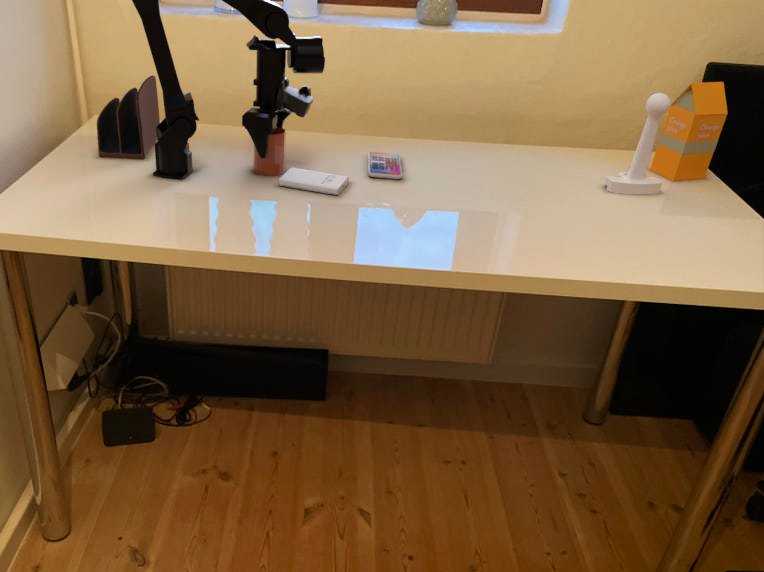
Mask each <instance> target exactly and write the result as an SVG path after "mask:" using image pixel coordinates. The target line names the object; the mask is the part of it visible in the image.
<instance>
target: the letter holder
mask: <svg viewBox="0 0 764 572" xmlns="http://www.w3.org/2000/svg"><path fill="white" fill-rule="evenodd" d="M159 107H160V106H159V95H158V86H157V78H156V76H155V75H150V76H148V77H147V78H146V79H145V80H144V81H143V82H142V83H141V85H140V87H139V89H138V88H137V87H132V88H131V89H129V90H128V91H127V92H126V93H125V94H124V95H123V97H122V98H121V100H120V98H118V97H114V98H113V99H111V100H110V101H108V103H107V104H106V105H105V106H104V107H103V108H102V110H101V111H100V114H99V115H98V117H97V119H96V133H97V149H98V157H100V158H113V159H116V158H117V159H118V158H119V159H133V160H134V159H137V160H138V159H139V160H145V159H146V157H147V155H148V153H149V152H150V150H151V148H152V147H153V145H155V143H156V140H158V139H157V133H156V127H157V126H158V125H159V124H160V123H161V120H160V108H159Z"/></svg>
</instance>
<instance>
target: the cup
mask: <svg viewBox="0 0 764 572" xmlns="http://www.w3.org/2000/svg"><path fill="white" fill-rule="evenodd" d="M286 141H287V130H286V129H285V128H281V127H277V128H276V129H274V130H273V131H272V132H271V133H270V136H269V142H268V148H267V154H266V158H260V156H259V154H258V152H257V150H256V147H255V145H254V144H253V172H254V173H256V174H258V175H261V176H269V177H273V176H280V175H282V174H285V172H286V171H285V169H286V147H287V146H286V145H287V144H286V143H287V142H286Z"/></svg>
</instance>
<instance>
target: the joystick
mask: <svg viewBox="0 0 764 572" xmlns="http://www.w3.org/2000/svg"><path fill="white" fill-rule="evenodd" d="M670 105H671V98H670V97H669V96H668V95H667V94H666V93H663V92H657V93H654V94H652V95H650V96H649V97H648V98H647V100H646V102H645V110H646V113H647V117H646V121H645V123H644V127H643V129H642V132H641V134H640V137H639V140H638V143H637V147H636V149H635V152H634V155H633V158H632V160H631V162H630V163H631V164H630V165H629V169H628V171H619V172H618V174H617V176H611V175H606V176H605V178H604V182H603V186H606V191H607V192H609V193H615V194H616V193H617V194H624V195H625V194H626V195H657V194H660V191H661V188H662V185H663V181H661V180H660V179H658V178H657V177H655V176H649V177H647V173H648V169H649V165H650V161H651V157H652V152H653V149H654V145H655V140H656V137H657V132H658V128H659V125H660V120H661V118H662V117H663V116H664V115H665V114H666V113H668V111H669V108H670Z"/></svg>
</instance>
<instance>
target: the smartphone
mask: <svg viewBox="0 0 764 572" xmlns="http://www.w3.org/2000/svg"><path fill="white" fill-rule="evenodd" d="M367 175H368V176H369V177H372V178H380V179H381V178H382V179H392V180H400V179H402V178H403V170H402V163H401V156H400V155H399V153H390V152H380V151H379V152H378V151H369V152H368V153H367Z"/></svg>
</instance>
